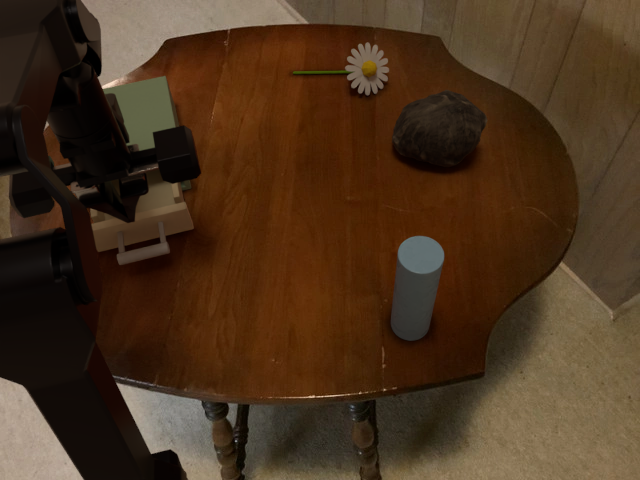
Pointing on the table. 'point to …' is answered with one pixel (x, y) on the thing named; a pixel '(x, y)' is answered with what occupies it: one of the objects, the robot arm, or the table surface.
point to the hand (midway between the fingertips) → (131, 219)
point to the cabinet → (146, 111)
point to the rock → (439, 129)
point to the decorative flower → (362, 69)
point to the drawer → (144, 221)
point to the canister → (415, 286)
